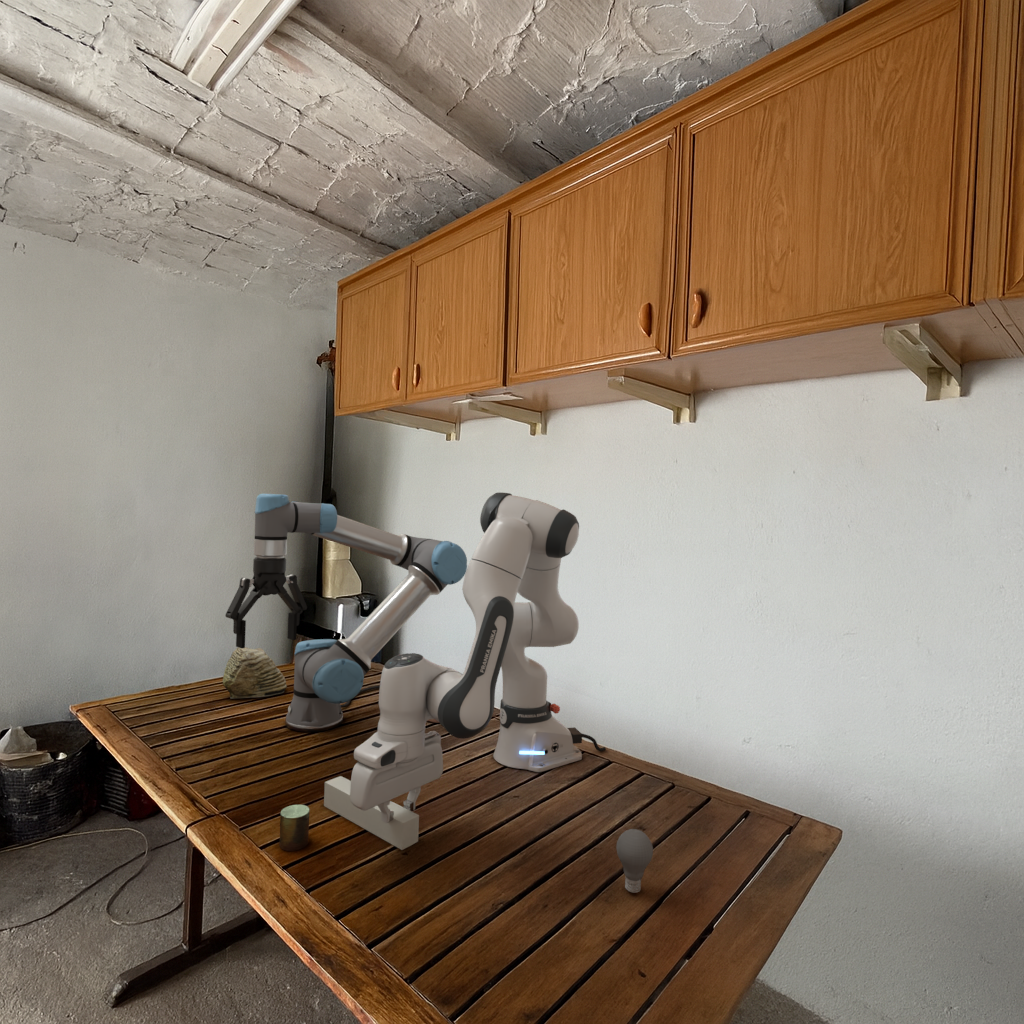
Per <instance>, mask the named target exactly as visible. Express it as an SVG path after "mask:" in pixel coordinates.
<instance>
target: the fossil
mask: <svg viewBox="0 0 1024 1024" xmlns="http://www.w3.org/2000/svg"><path fill="white" fill-rule="evenodd" d="M222 676H223V677H222V685H223V687H224V688H225V690H226V691H228V693H229V698H230V699H250V698H264V697H271V696H275V695H281V694H284V693H285V691H286V689H287V687H288V686H287V680H286V678H285V676H284V674H283V673H282V672H281V669H279V668H278V667H277V665H276V663H275V662H274V660H273V659H272V658H271V657H270V656H269V655H268V654H267V653H266V652H265V650H264V649H263V648H260V647H258V648H251V647H247V646H245V648H239V647H236V649H235V650H233V651H232V653H231V656H230V657H229V659H228V660H227V663H226V666H225V668H224V671H223V675H222Z"/></svg>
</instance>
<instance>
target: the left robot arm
mask: <svg viewBox="0 0 1024 1024" xmlns="http://www.w3.org/2000/svg"><path fill="white" fill-rule="evenodd" d="M289 499H290V497H289V495H287V494H279V493H278V494H277V493H260V494H258V495H257V496H256V498H255V508H254V540H253V541H254V542H253V555H254V556H255V557H254V558H253V560H252V561H253V563H252V564H253V565H252V572H253V576H252V578H247V577H240V579H239V586H238V588H237V590H236V592H235V594H234V596H233V598H232V600H231V601H230V602H231V603H230V605H229V606H228V608H227V611H226V612H225V618H227V619H230V620H232V621H233V627H232V629H233V631H232V632H233V634H235V635H236V637H235V647H236V648H238V647H239V648H245V647H246V631H247V630H246V626H247V620H245V617H246V615H248V613H249V612H250V610H251V609H252V608H253V606H254V605H256V603H257V602H258V600H259V599H261V598H262V597H263V596H270V595H273V596H274V595H275V596H276V595H277V596H279V597H280V599H281V600H282V602H283V603H284V604H285V605H286V606H287V607H288V609H289V610H290V611H291V612H288V613H287V614H288V616H287V639H288V640H292V641H296V640H297V630H298V629H297V627H299V625H300V615H301V614H303V611H306V610H307V609H308V606H307V603H306V601H305V599H304V596H303V594H302V591H301V588H300V587H299V584H298V576H297V575H295V574H290V573H289V574H287V575H286V571H287V558H286V557H285V556H287V555H288V533H291V534H295V533H299V534H300V533H302V534H306V535H307V534H308V535H311V536H314V537H317V538H320V539H322V540H323V539H324V540H327V541H329V542H333V543H336V544H340V545H341V546H344V547H345V546H346V547H348V548H351V549H354V550H357V551H361V552H364V553H367V554H370V555H373V556H376V557H379V558H383V559H386V560H389V561H390V563H391V564H392V565H394V566H397V567H399V568H402V569H404V570H406V571H407V575H406V576H405V577H404V578H403V579H402V580H401V582H399V584H398V585H397V586H396V587H395V588H394V589H393V590H392V591H391V592H390V593H389V594H388V595H387V596H386V597H385V598H384V599H383V600H382V601H381V603H379V605H377V607H376V608H374V609H373V611H372V612H371V613H370V614H369V615H368V616H367V617H366V619H364V620H363V621H362V622H361V624H359V625H358V627H357V628H355V630H354V631H352V633H351V634H350V635H349V636H348V637H346V638H339V639H332V638H323V639H322V638H320V639H307V640H303V641H299V642H297V644H296V645H295V650H294V653H293V654H294V655H293V656H294V672H293V673H294V674H293V695H292V696H293V697H292V699H291V702H290V704H289V705H288V708H287V713H286V715H285V726H286V728H287V729H289V730H291V731H294V732H295V731H296V732H301V733H316V732H325V731H329V730H332V729H335V728H337V727H339V726H340V725H342V723H343V722H344V714H343V709H342V708H346V707H348V706H349V705H350V703H351V700H352V699H354V698H356V696H358V695H359V694H361V693H364V692H368V691H372V690H377V689H380V684H379V685H374V686H370V687H366V688H363V686H364V680H365V676H366V675H367V674H368V672H370V671H371V667H372V666H371V665H372V663H371V662H372V660H373V659H374V657H376V656H377V654H378V653H379V652H380V651H381V650H382V649H383V648H384V647H385V645H386V644H387V643H388V642H389V641H390V640H391V639H392V638H393V637H394V636H395V635H396V633H397V632H398V631H399V630H400V629H401V628H402V627H403V626H404V625H405V624H406V623H407V621H409V619H410V618H411V617H412V616H413V615H414V614H415V613H416V612H417V611H418V610H419V608H421V606H422V605H423V604H424V603H425V602H426V601H427V600H428V598H430V597H431V596H437V595H438V596H439V595H440V594H441V592H442V591H443V590H444V589H445V588H446V587H447V586H450V585H455V584H457V583H459V582H460V581H461V580H462V579H464V577H465V573H466V571H467V568H468V558H467V554H466V553H465V551H464V549H463V547H461V546H460V545H459V544H457V543H454V542H452V541H450V540H439V539H433V538H425V537H417V536H411V535H408V534H405V533H401V534H399V535H397V534H395V533H392V532H389V531H386V530H383V529H381V528H377V527H374V526H371V525H368V524H366V523H363V522H359V521H357V520H354V519H351V518H348V517H345V516H342V515H339V514H338V511H337V509H336V506H334V505H333V504H331V503H324V502H322V503H321V502H320V503H318V502H315V503H314V502H304V501H303V502H301V501H299V500H296V501H295V500H294V501H291V502H290V500H289ZM285 584H287V585H288V589H289V591H290V593H291V595H290V594H289V593H288V590H287V589H286V588H285V587H284V585H285ZM252 586H253V587H252ZM250 587H252V589H251V591H250V592H249V590H250ZM248 593H249V595H248ZM246 596H247V597H246ZM291 596H292V597H291Z"/></svg>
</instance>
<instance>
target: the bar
mask: <svg viewBox="0 0 1024 1024" xmlns="http://www.w3.org/2000/svg"><path fill="white" fill-rule="evenodd" d="M350 786H351V779H348V778H346V777H343V776H342V775H339V776H337V777H334V778H332V779H329V780H327V781H324V790H323V791H324V794H323V807H325V808H326V809H328V810H330V811H331V812H334V813H335V814H337V815H339V816H341V817H343V818H344V819H346V820H348V821H350V822H352V823H354V824H355V825H357V826H358V827H360V828H362V829H364V830H366V831H367V832H369V833H371V834H373V835H375V836H376V837H378V838H379V839H382V840H383V841H385V842H387V843H388V844H390V845H392V846H394V847H395V848H397V849H399V850H401V851H403V850H405V849H407V848H409V847H411V846H412V845H414V844H416V843H418V842H419V831H420V830H419V829H420V814H418V813H416V812H414V811H410V810H408V809H406V808H404V806H402V805H399V804H398V803H397V802H396V803H395V802H393V801H392V800H390V805H387V806H388V808H389V809H390V810H392V811H394V815H393V817H394V818H393V820H392V821H390V822H388V823H385V822H383V821H382V820H381V811H380V809H379V807H378V805H377V806H375V807H373V808H370V809H368V810H366V811H363V810H361V809H359V808H357V807H355V806H354V805H353V804H352V803H351V801H350Z"/></svg>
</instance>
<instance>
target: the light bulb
mask: <svg viewBox="0 0 1024 1024" xmlns="http://www.w3.org/2000/svg"><path fill="white" fill-rule="evenodd" d="M615 849H616V854H617V857H618V859H619V861H620V863H621V865H622V867H623V873H624V874H623V875H624V876H625V878H624V888H625V890H627V891H628V892H630V893H634V894H635V893H639V892H640V891H641V889H642V887H641V886H642V879H643V877H644V875H645V871H646V868H647V867H648V866H649V864H650V863H651V861H652V859H653V855H654V847H653V843H652V841H651V838H649V836H648V835H647V834H646V833H645V832H643V831H642V830H641V829H636V828H629V829H627V830H625V831H623V832H622V833H621V834H620V835H619V837H618V839H617V841H616V847H615Z"/></svg>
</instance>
